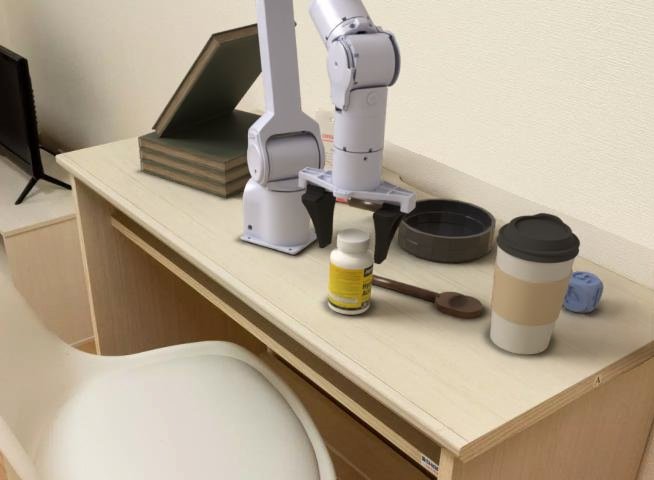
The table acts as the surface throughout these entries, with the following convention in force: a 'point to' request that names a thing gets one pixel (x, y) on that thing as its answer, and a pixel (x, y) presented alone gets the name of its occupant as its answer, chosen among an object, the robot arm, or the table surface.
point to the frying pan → (446, 230)
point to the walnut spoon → (437, 298)
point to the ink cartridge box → (327, 137)
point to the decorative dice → (583, 292)
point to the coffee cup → (530, 281)
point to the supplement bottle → (351, 273)
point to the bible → (208, 118)
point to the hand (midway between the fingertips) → (352, 252)
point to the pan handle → (363, 204)
